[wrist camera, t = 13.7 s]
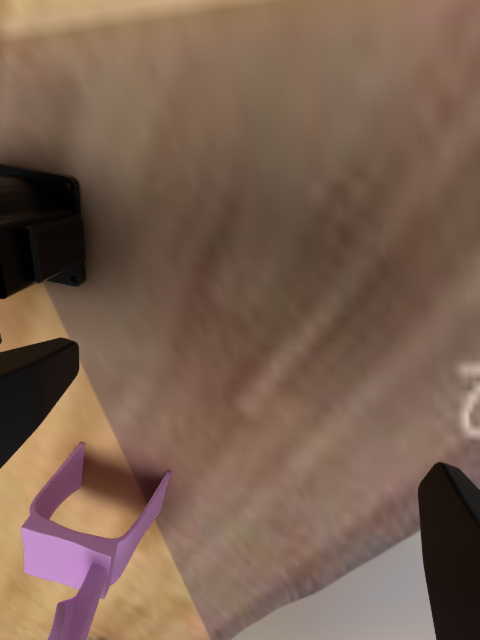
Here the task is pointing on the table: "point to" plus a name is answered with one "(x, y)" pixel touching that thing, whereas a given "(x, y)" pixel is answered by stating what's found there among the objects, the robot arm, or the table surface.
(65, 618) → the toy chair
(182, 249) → the table surface
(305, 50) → the table surface
